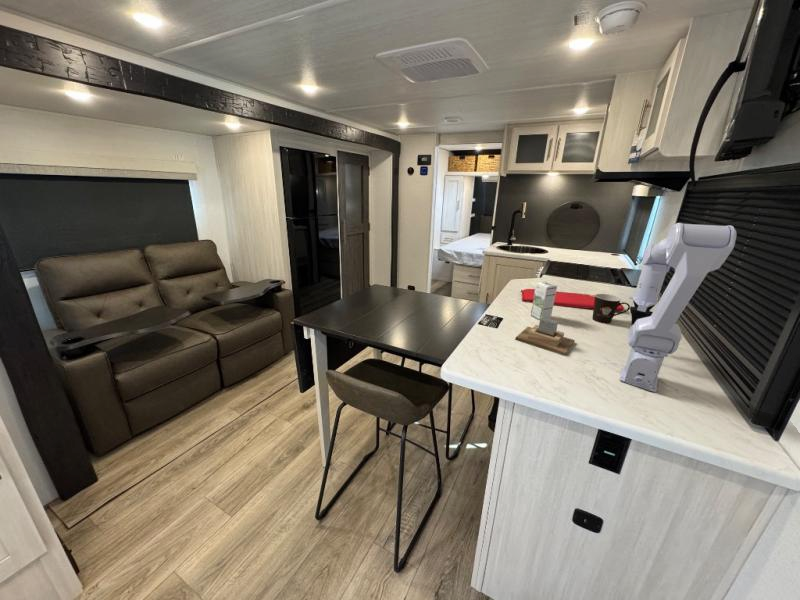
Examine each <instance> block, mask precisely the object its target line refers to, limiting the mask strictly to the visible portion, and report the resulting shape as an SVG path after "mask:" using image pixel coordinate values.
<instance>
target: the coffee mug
mask: <svg viewBox="0 0 800 600" xmlns="http://www.w3.org/2000/svg"><path fill="white" fill-rule="evenodd" d="M594 295H595V300H594V309H593V310H592V312H593V313H592V320H593V321H594V322H597V323H600V324H605V325H606V324H611V322H612V321H613V318H614V317H616V316H618V315H619V316H620V315H622V314H625V313H626V312H628V311H629V310H630V307H631V305H630V304H629V303H627V302H625V301H624V302H621V297H618V296H616V295H613V294H608V293H596V294H594ZM621 304H622V305H627V309H626V310H623V311H620V312H617V313H616V309H617V307H618V306H620V305H621Z"/></svg>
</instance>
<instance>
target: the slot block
mask: <svg viewBox="0 0 800 600" xmlns="http://www.w3.org/2000/svg"><path fill="white" fill-rule="evenodd" d="M538 328H539V324H538V325H537V324H535V325H534V326H533V327H530V326H527V327H526V328H524V329H523V330H522V331H521V332H520V333H519V334H518V335H517V336H515V341H517V342H521V343H524V344H527V345H530V346H533V347H536V348H539V349H543V350H546V351H549V352H552V353H555V354H558V355H561V356H564V357H565V356H566V355H567V353H569V350H571V348H572V346H574V344H573V343H575V341H576V340H575V339H572V338H570V337H565V336H564V335H565V332H562V331H560V330H556V335H555V337H552V336H548V335H545V334H541V333H538Z"/></svg>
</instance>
